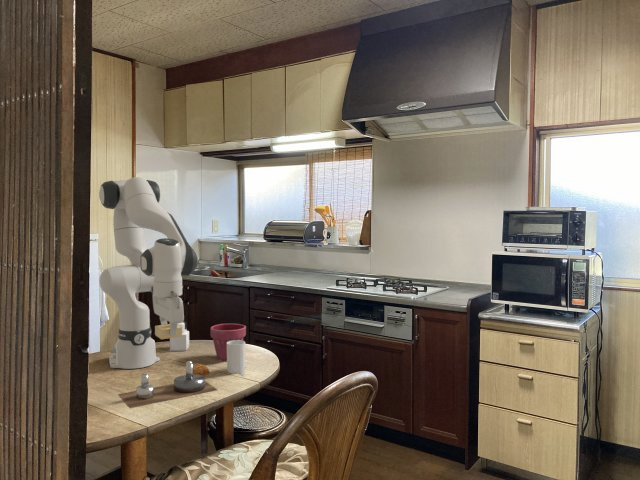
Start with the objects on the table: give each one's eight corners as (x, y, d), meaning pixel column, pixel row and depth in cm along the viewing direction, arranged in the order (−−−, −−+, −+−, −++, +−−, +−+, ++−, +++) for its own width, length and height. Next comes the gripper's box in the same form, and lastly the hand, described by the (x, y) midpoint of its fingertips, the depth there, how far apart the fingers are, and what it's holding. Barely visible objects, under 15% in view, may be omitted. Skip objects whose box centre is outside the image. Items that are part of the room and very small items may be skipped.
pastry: (214, 378, 187) (214, 367, 187) (196, 382, 183) (196, 371, 183) (203, 371, 195) (203, 361, 194) (186, 375, 191) (186, 365, 190)
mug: (242, 378, 186) (241, 345, 186) (224, 377, 188) (223, 344, 187) (250, 369, 196) (250, 338, 196) (233, 368, 198) (233, 337, 197)
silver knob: (134, 396, 164) (134, 374, 164) (150, 392, 167) (150, 371, 167) (139, 401, 160) (138, 378, 159) (155, 397, 163) (155, 375, 162)
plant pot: (232, 350, 223) (232, 321, 222) (253, 357, 213) (252, 326, 212) (203, 357, 212) (203, 326, 212) (224, 364, 203) (223, 332, 202)
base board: (118, 398, 165) (118, 394, 165) (201, 382, 181) (201, 378, 181) (129, 413, 154) (129, 408, 154) (217, 394, 170) (217, 389, 170)
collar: (155, 335, 168) (155, 325, 167) (175, 332, 171) (175, 323, 171) (161, 339, 162) (161, 329, 162) (181, 336, 166) (181, 327, 166)
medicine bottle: (172, 346, 229) (172, 319, 228) (189, 346, 229) (189, 319, 229) (169, 351, 222) (169, 323, 221) (186, 350, 222) (186, 323, 222)
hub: (169, 386, 173) (169, 359, 172) (198, 381, 179) (198, 355, 178) (180, 395, 165) (179, 367, 164) (209, 389, 170) (209, 362, 170)
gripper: (188, 293, 159) (189, 337, 160) (168, 284, 176) (168, 325, 177) (168, 295, 155) (168, 340, 156) (149, 286, 172) (149, 327, 173)
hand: (168, 332), depth 167 cm, fingers closed on collar, 7 cm apart
